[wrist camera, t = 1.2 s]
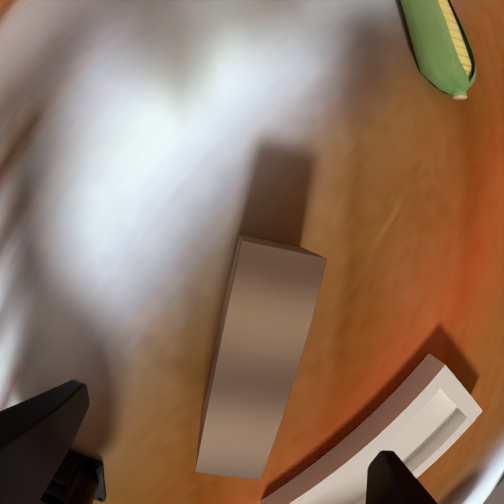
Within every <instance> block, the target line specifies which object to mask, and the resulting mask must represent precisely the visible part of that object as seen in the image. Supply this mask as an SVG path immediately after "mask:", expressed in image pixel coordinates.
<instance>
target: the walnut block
mask: <svg viewBox="0 0 504 504" xmlns="http://www.w3.org/2000/svg"><path fill="white" fill-rule="evenodd" d="M326 261H327V259H326V258H324V257H322V256H320V255H317V254H315V253H313V252H311V251H308V250H306V249H304V248H302V247H299V246H294V245H290V244H285V243H280V242H276V241H271V240H266V239H262V238H257V237H252V236H248V235H243V234H238V236H237V241H236V246H235V250H234V255H233V260H232V265H231V269H230V274H229V279H228V284H227V289H226V294H225V299H224V303H223V308H222V313H221V318H220V323H219V328H218V333H217V338H216V343H215V348H214V353H213V358H212V363H211V368H210V374H209V379H208V384H207V389H206V394H205V400H204V405H203V410H202V415H201V422H200V431H199V440H198V450H197V460H196V470H195V472H201V473H208V474H215V475H222V476H230V477H240V478H251V479H261V476H262V474H263V471H264V468H265V466H266V463H267V460H268V457H269V455H270V452H271V449H272V446H273V443H274V440H275V438H276V435H277V432H278V429H279V426H280V423H281V420H282V417H283V414H284V411H285V408H286V405H287V402H288V399H289V395H290V392H291V389H292V386H293V383H294V379H295V376H296V373H297V369H298V366H299V363H300V359H301V356H302V353H303V349H304V346H305V342H306V338H307V335H308V331H309V328H310V324H311V320H312V317H313V313H314V309H315V305H316V301H317V298H318V294H319V290H320V286H321V282H322V278H323V274H324V269H325V265H326Z"/></svg>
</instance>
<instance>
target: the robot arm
mask: <svg viewBox="0 0 504 504" xmlns="http://www.w3.org/2000/svg"><path fill="white" fill-rule="evenodd" d="M88 407H89V397H88V391H87V386H86V384H85V383H83V382H80V381H78V380H75V379H74V380H70V381H68V382H66V383H64V384H62V385H59V386H57V387H55V388H53V389H50V390H48V391H46V392H44V393H41V394H39V395H37V396H35V397H32V398H30V399H28V400H25V401H23V402H21V403H19V404H16V405H14V406H12V407H9V408H7V409H4V410H2V411H0V504H92V503H93V501H94V500H97V501H100V502H105V499H106V495H105V485H104V474H103V465H102V463H101V462H100V461H98V460H95V459H92V458H89V457H86V456H83V455H81V454H78V453H75V452H73V451H70V450H69V448H70V447H71V445H72V443H73V441H74V439H75V436H76V434H77V432H78V429H79V427H80V425H81V423H82V420H83V418H84V416H85V414H86V412H87V410H88ZM365 504H437V502H436V501H435V500H434V499H433V498H432V496H431V495H430V494H429V493H428V492H427V490H426V489H425V488H424V487H423V486H422V484H421V483H420V482H419V481H418V480H417V478H416V477H415V476H414V475H413V474H412V472H411V471H410V470H409V469H408V468H407V466H406V465H405V464H404V463H403V462H402V460H401V459H400V458H399V457H398V456H397V454H396V453H395V452H394V451H391V450H382V451H380V452H379V453H378V454H377V456H376V457H375V458H374V459H373V461H372V462H371V463H370V464H369V466H368V470H367V488H366V502H365Z"/></svg>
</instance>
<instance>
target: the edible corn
mask: <svg viewBox="0 0 504 504" xmlns="http://www.w3.org/2000/svg"><path fill="white" fill-rule="evenodd" d="M400 4H401V7H402V11H403V14H404V18H405V22H406V25H407V29H408V33H409V37H410V40H411V44H412V47H413V51H414V54H415V58H416V61H417V64H418V67H419V71H420V73H421V74H422V75H423V76H424V77H425V78H426V79H427V80H428V81H429V82H430V83H431V84H432V85H433V86H434V87H436V88H437V89H439V90H440V91H442V92H443V93H445V94H450V95H452V99H454V100H464V99H466V98H467V93H466V91H467V90H468V89H469V88H470V87H471V86H472V84H473V83H474V81H475V77H476V66H475V60H474V56H473V51H472V48H471V46H470V43H469V40H468V38H467V35H466V33H465V31H464V28H463V26H462V24H461V22H460V20H459V18H458V16H457V14H456V12H455V10H454V8H453V6H452V4H451V2H450V0H400Z"/></svg>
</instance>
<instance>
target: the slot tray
mask: <svg viewBox="0 0 504 504" xmlns="http://www.w3.org/2000/svg"><path fill="white" fill-rule="evenodd" d="M481 412H482V409H481V408H480V407H479V406H478V404H477V403H476V402H475V400H474V399H473V398H472V397H471V395H470V394H469V393H468V392H467V390H466V389H465V388H464V387H463V386H462V384H461V383H460V382H459V381H458V379H457V378H456V377H455V376H454V375H453V373H452V372H451V371H450V370H449V369H448V367H447V366H446V365H445V364H444V363H442V362H441V361H439V360H438V359H437V358H435V357H434V356H432V355H431V354H429V353H428V354H427V356H426V357H425V358H424V359H423V360H422V362H421V363H420V364H419V365H418V366H417V367H416V368H415V369H414V371H413V372H412V373H411V374H410V375H409V376H408V377H407V378H406V379H405V380H404V382H403V383H402V384H401V385H400V386H399V387H398V388H397V389H396V390H395V391H394V392H393V393H392V394H391V395H390V396H389V397H388V398H387V399H386V400H385V401H384V402H383V403H382V404H381V405H380V406H379V407H378V408H377V409H376V410H375V411H374V412H373V413H372V414H371V415H370V416H369V417H368V418H367V419H365V420H364V421H363V422H362V423H361V424H360V425H359V426H358V427H357V428H356V429H355V430H353V431H352V432H351V433H350V434H349V435H348V436H347V437H345V438H344V439H343V440H342V441H341V442H340V443H338V444H337V445H336V446H335V447H334V448H332V449H331V450H330V451H329V452H327V453H326V454H325V455H324V456H322V457H321V458H320V459H319V460H317V461H316V462H315V463H314V464H312V465H311V466H310V467H308V468H307V469H306V470H304V471H303V472H302V473H300V474H299V475H297V476H296V477H295V478H293V479H292V480H291V481H289V482H288V483H286V484H285V485H283V486H282V487H280V488H279V489H277V490H276V491H274V492H273V493H271V494H270V495H268V496H267V497H265V498H264V499H262V500H261V504H365V502H366V488H367V470H368V466H369V464H370V463H371V462H372V461H373V459H374V458H375V457H376V456H377V454H378V453H379V452H380V451H382V450H391V451H394V452H395V453H396V454H397V456H398V457H399V458H400V459H401V460H402V462H403V463H404V464H405V465H406V466H407V468H408V469H409V470H410V471H411V472H412V474H413V475H414V476H415V477H416V478H417V477H418V476H420V475H421V474H422V473H423V472H424V471H425V470H426V469H427V468H429V467H430V466H431V465H432V464H433V463H434V462H435V461H436V460H437V459H438V458H439V457H440V456H441V455H442V454H443V453H444V452H445V451H446V450H447V449H448V448H449V447H450V446H451V445H452V444H453V443H454V442H455V441H456V440H457V439H458V438H459V437H460V436H461V435H462V434H463V433H464V432H465V431H466V429H467V428H468V427H469V426H470V425H471V424H472V423H473V422H474V421H475V419H476V418H477V417H478V416H479V415H480V414H481Z"/></svg>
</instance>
